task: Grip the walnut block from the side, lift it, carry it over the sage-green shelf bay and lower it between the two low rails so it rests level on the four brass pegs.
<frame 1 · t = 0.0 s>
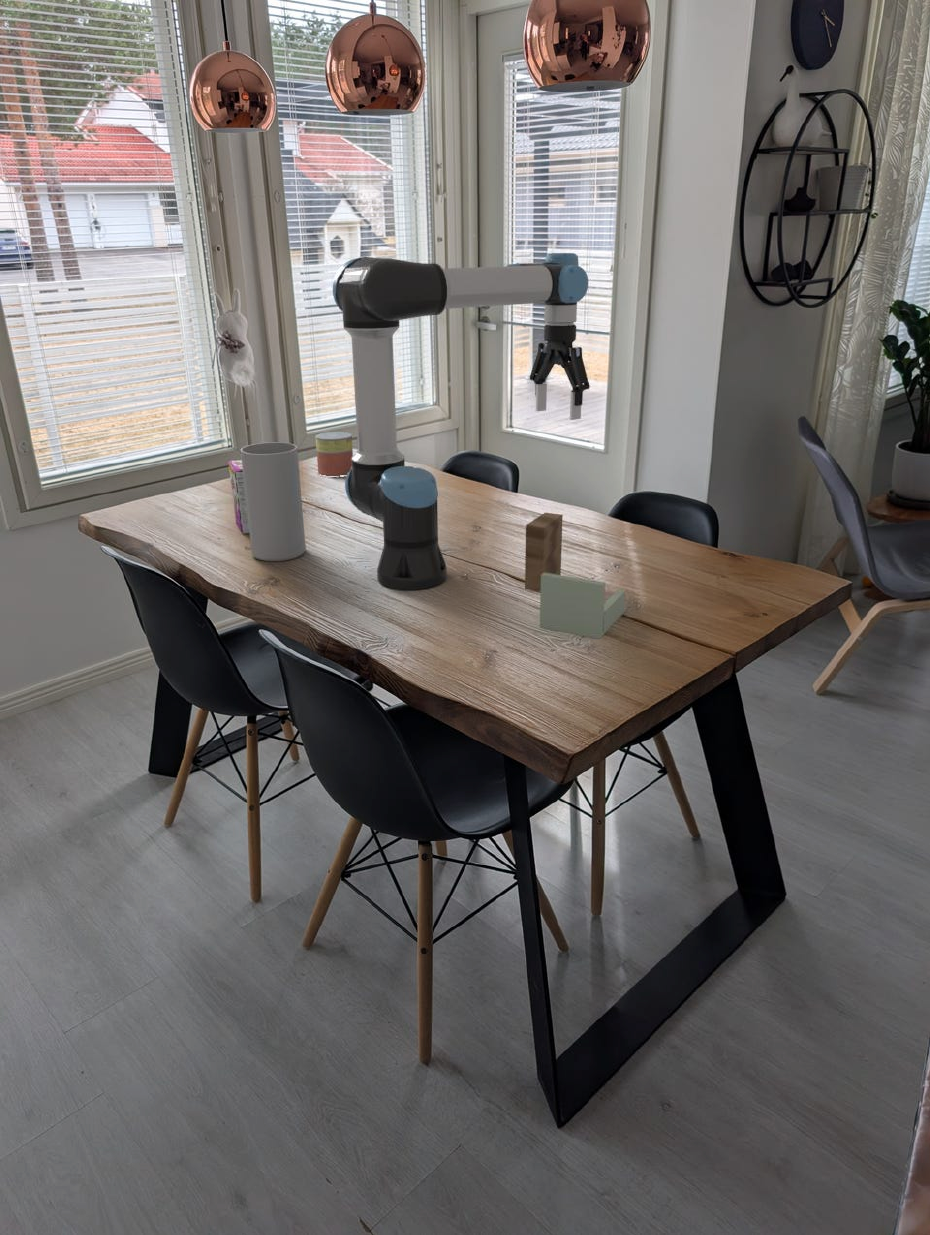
hand: (557, 415, 221), 28 cm above the table, tool pointing down, fingers open, 13 cm apart
candy bar box: (247, 528, 233), on the table
cylinder vase: (279, 554, 214), on the table
shelf bay: (584, 617, 176), on the table
canned food: (336, 474, 284), on the table
walnut block: (543, 582, 194), on the table
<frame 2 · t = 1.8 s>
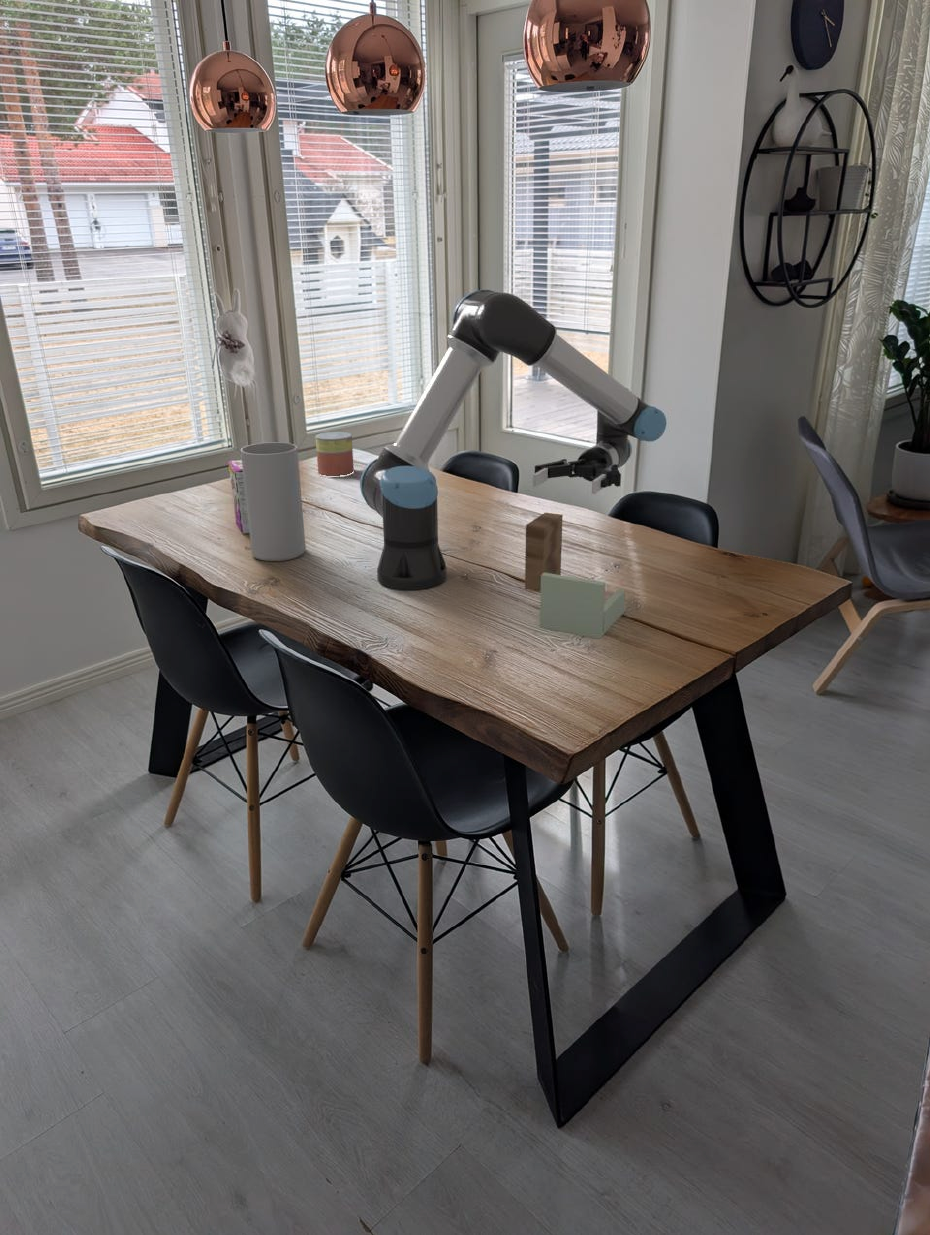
hand: (563, 484, 195), 19 cm above the table, tool horizontal, fingers open, 13 cm apart
nothing on the table moved.
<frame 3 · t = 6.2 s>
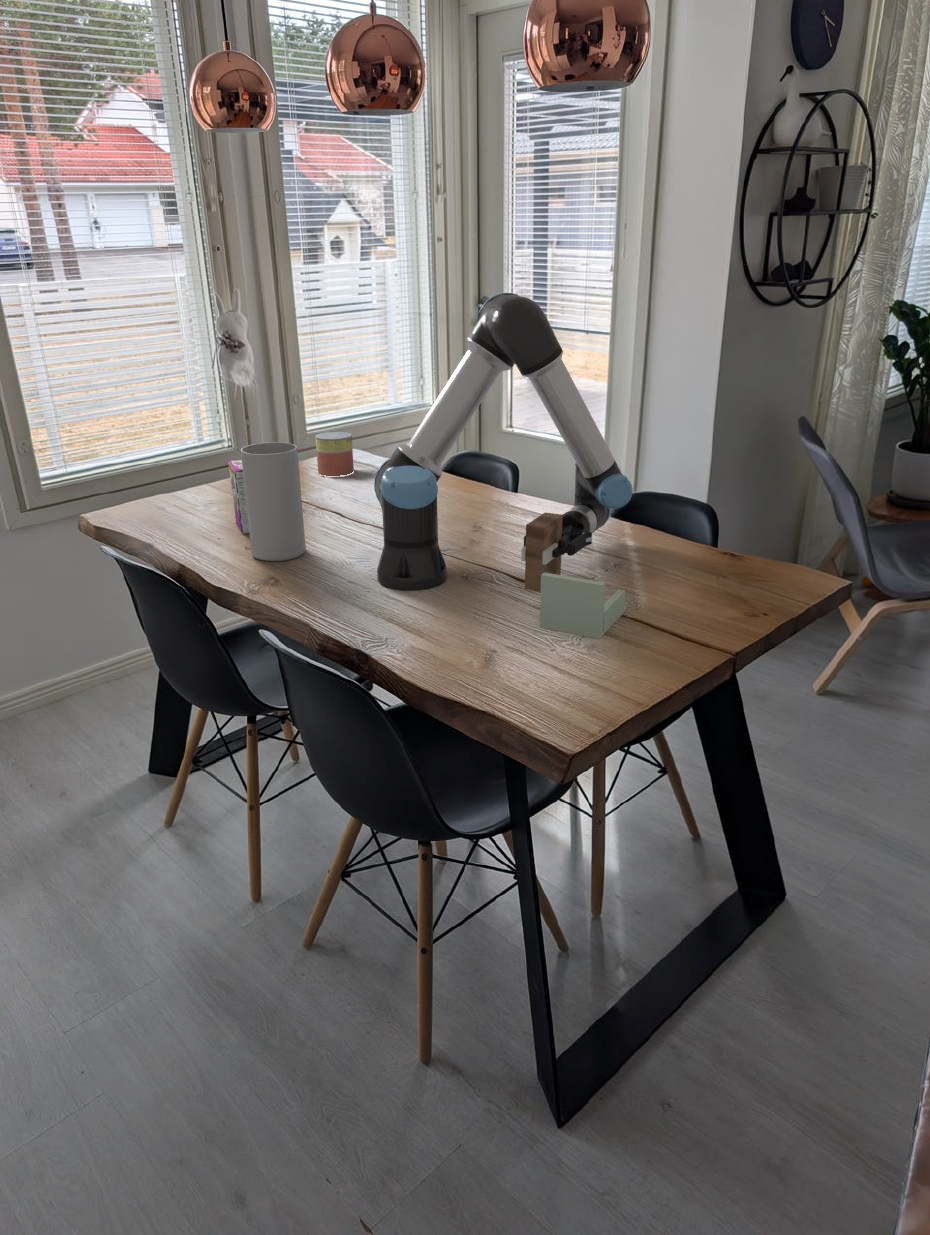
hand: (533, 556, 187), 8 cm above the table, tool horizontal, fingers closed on walnut block, 4 cm apart
walnut block: (543, 582, 194), on the table, touching gripper
everything else where it was.
when the fingers open (12 cm above the table, at t = 10.7 s): walnut block drops 1 cm, resting on shelf bay.
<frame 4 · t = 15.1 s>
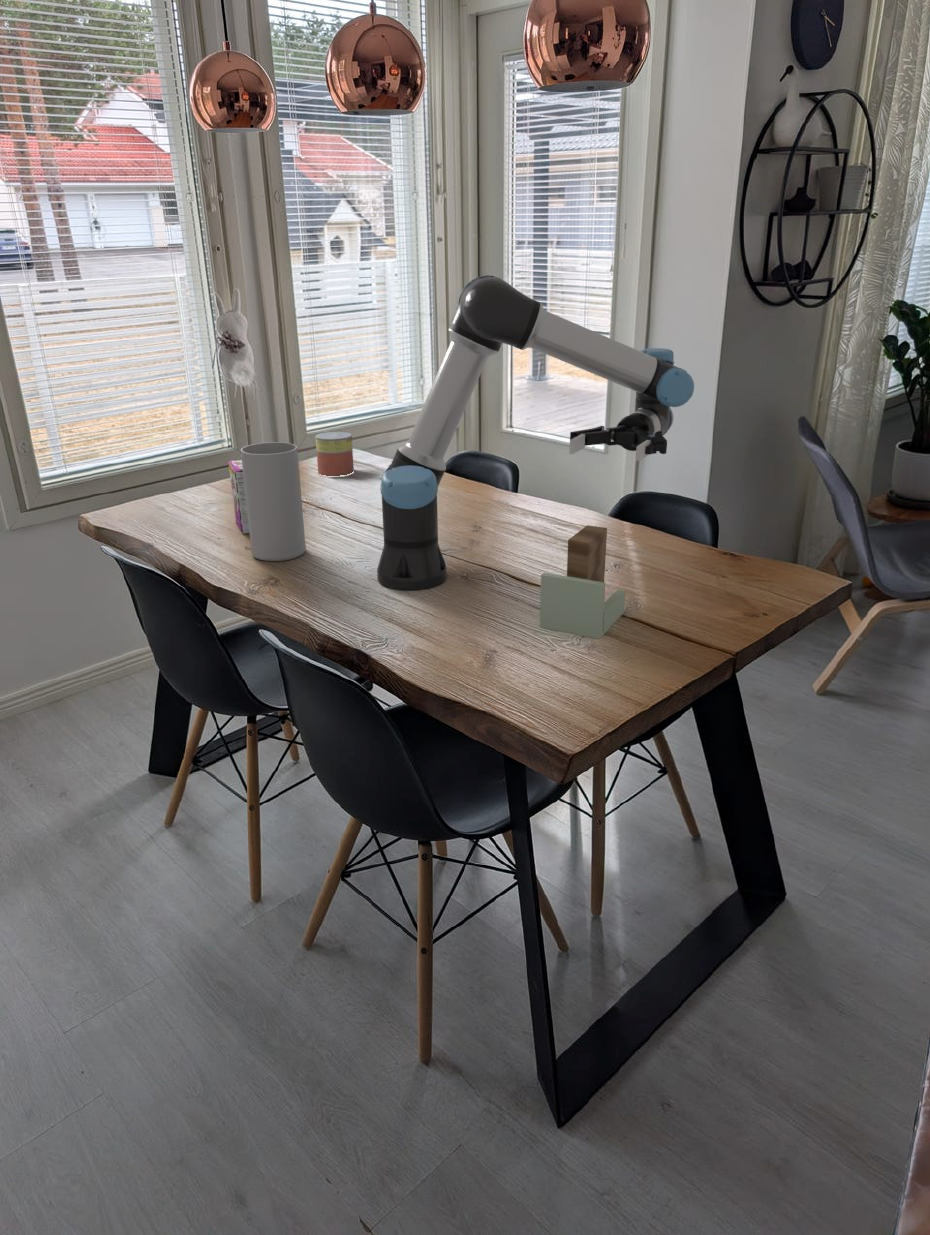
hand: (604, 450, 176), 30 cm above the table, tool horizontal, fingers open, 13 cm apart
walnut block: (584, 603, 175), point 3 cm above the table, touching shelf bay
everything else where it was.
at the end: walnut block inside the target area on the shelf bay (0.1 cm from its centre), point 3.1 cm above the shelf bay's base; walnut block tilted 0°; the gripper is holding nothing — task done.
